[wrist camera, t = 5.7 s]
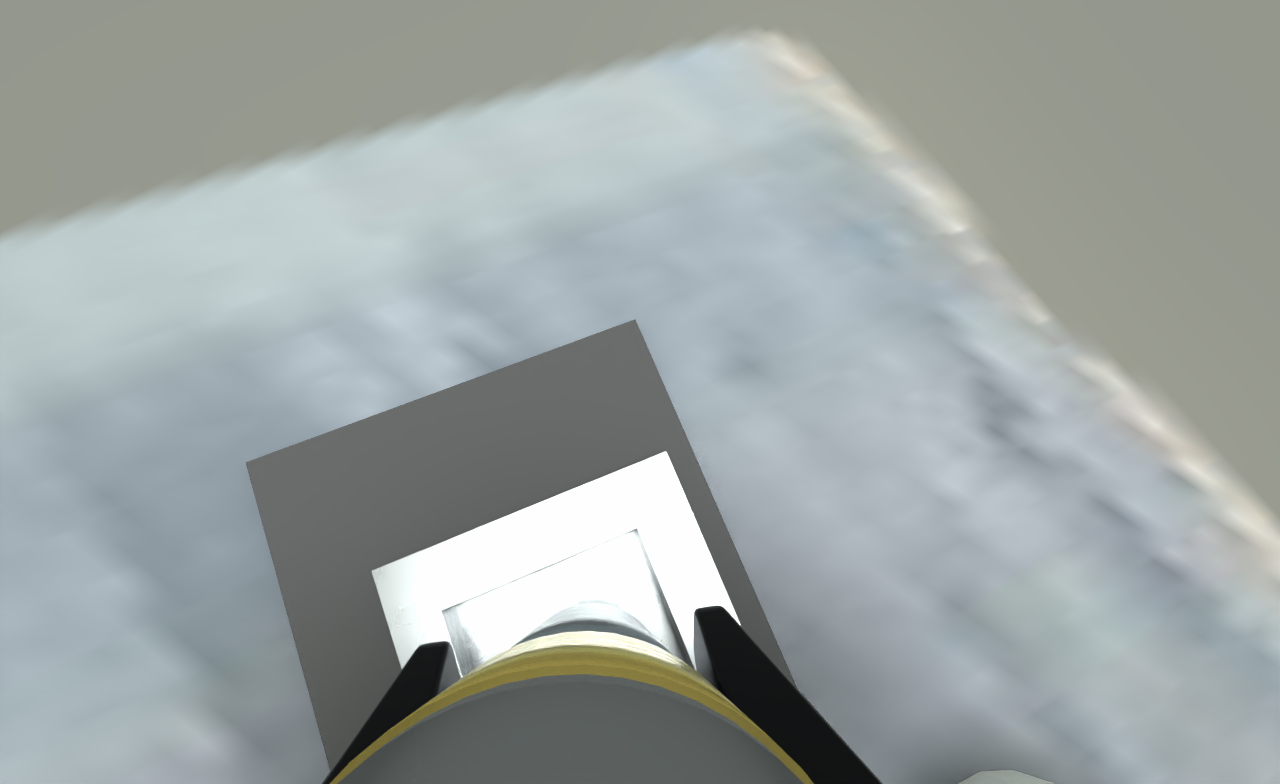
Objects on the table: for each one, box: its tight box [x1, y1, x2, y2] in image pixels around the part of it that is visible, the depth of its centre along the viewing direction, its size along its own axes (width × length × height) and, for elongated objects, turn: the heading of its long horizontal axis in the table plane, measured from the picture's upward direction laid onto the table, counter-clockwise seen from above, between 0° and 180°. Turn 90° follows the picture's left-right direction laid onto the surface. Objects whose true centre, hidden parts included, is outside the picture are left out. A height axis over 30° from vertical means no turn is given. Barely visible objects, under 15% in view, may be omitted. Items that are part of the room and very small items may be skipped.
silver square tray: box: [372, 452, 741, 678], centre depth 19 cm, size 10×10×3 cm
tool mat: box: [246, 320, 797, 771], centre depth 20 cm, size 22×14×1 cm, turn 23°
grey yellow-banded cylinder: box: [330, 603, 814, 784], centre depth 9 cm, size 4×4×13 cm
